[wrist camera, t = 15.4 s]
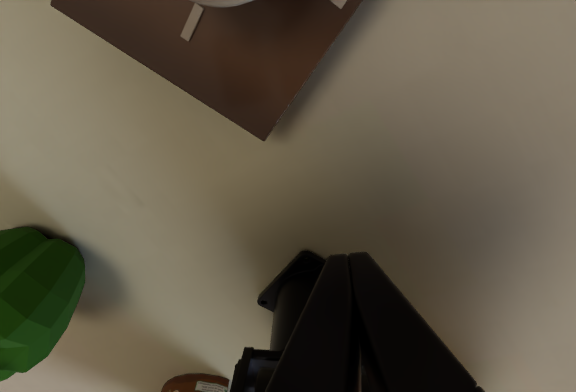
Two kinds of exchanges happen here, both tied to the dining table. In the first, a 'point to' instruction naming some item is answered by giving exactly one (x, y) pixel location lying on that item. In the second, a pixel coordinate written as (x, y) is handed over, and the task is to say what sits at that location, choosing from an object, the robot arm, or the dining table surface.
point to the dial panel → (223, 47)
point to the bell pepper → (35, 296)
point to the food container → (196, 383)
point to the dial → (221, 2)
